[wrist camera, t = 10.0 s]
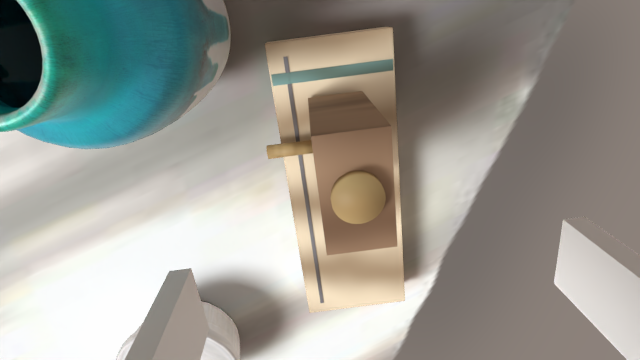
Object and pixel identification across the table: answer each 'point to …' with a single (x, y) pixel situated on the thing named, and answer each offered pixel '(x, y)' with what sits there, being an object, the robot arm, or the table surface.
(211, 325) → the ramekin
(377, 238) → the tan boxy wooden piece
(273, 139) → the table surface
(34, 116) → the vase
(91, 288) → the table surface
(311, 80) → the board
